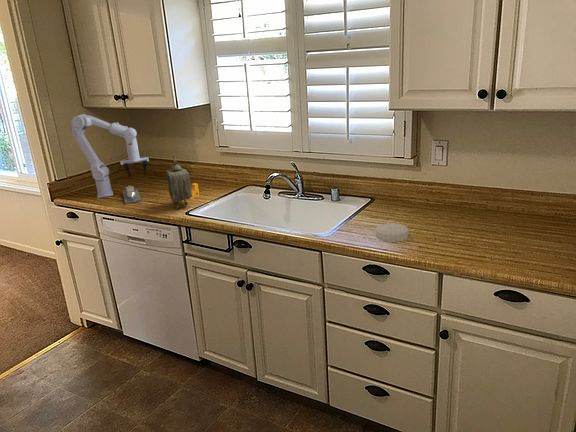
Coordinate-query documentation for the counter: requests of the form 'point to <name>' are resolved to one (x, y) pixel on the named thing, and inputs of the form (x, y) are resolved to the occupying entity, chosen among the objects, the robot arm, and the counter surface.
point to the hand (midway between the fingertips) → (137, 176)
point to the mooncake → (391, 232)
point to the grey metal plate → (132, 200)
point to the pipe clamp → (194, 191)
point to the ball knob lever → (130, 191)
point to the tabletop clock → (178, 184)
